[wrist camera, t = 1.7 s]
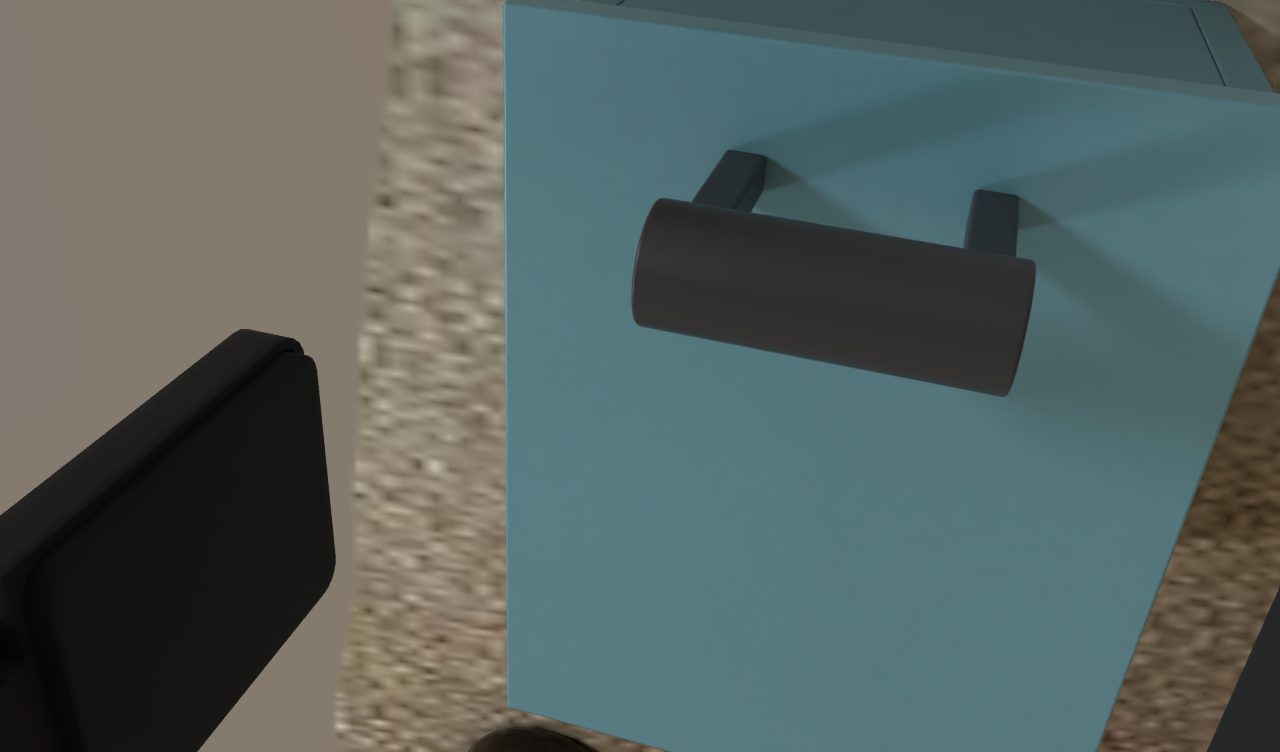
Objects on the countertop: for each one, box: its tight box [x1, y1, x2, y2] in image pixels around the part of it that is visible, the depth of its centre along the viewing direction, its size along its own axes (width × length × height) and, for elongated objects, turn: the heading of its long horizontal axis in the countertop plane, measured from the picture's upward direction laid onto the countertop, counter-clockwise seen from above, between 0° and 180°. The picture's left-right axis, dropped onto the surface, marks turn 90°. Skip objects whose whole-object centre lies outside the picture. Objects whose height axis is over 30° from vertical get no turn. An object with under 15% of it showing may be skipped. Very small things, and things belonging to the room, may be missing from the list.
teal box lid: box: [503, 0, 1280, 752], centre depth 20 cm, size 16×13×6 cm
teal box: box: [579, 0, 1275, 93], centre depth 27 cm, size 16×13×10 cm
